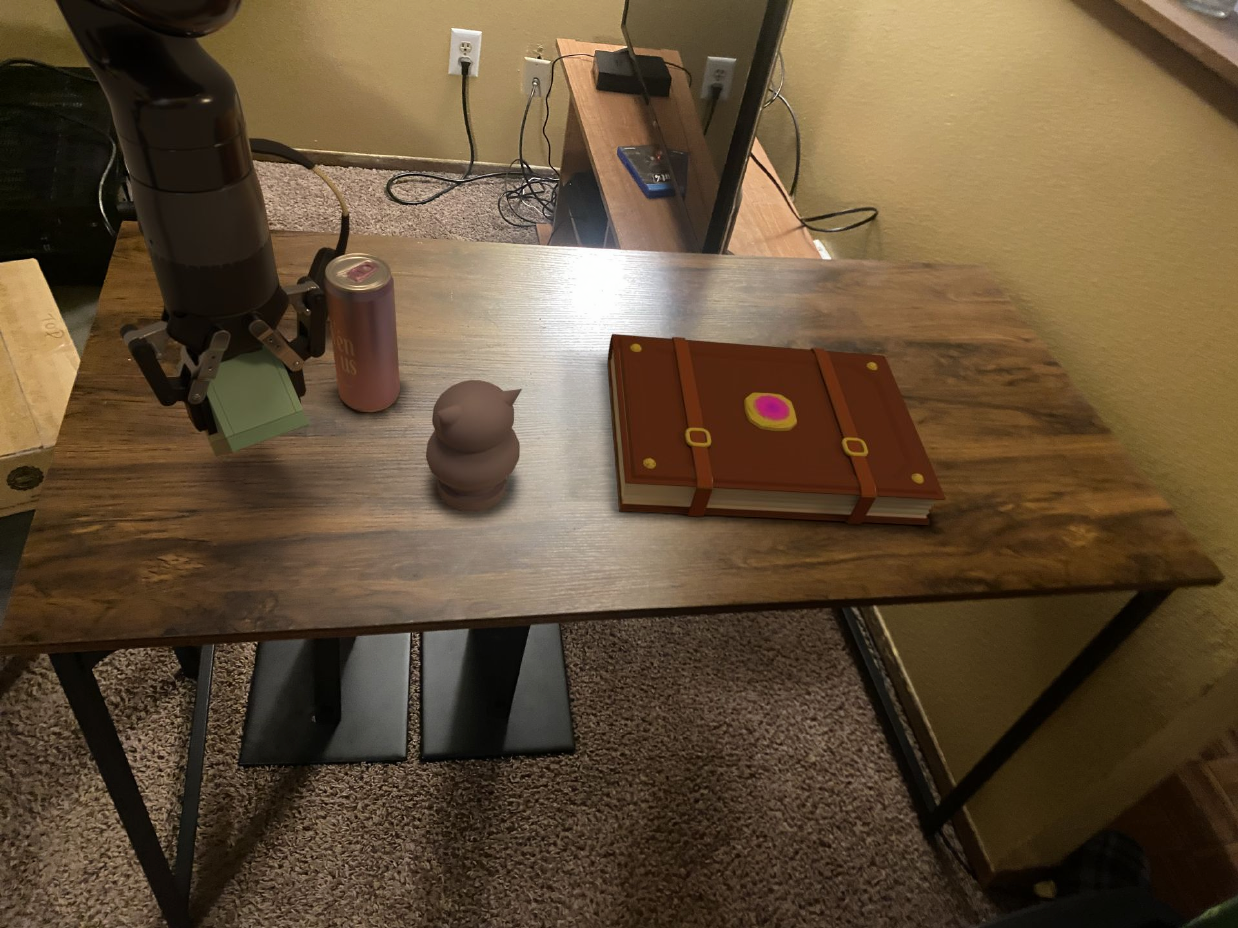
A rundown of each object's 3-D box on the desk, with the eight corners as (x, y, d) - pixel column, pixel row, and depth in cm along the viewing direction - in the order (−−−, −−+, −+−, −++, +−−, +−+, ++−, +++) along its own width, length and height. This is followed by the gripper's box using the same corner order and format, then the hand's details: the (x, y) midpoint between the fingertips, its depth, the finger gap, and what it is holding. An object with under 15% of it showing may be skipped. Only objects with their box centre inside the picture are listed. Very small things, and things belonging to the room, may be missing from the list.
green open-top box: (175, 366, 69) (187, 351, 61) (248, 344, 72) (268, 327, 64) (215, 456, 70) (232, 452, 62) (285, 431, 73) (309, 424, 66)
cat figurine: (493, 443, 83) (499, 350, 74) (532, 498, 79) (542, 406, 70) (412, 471, 79) (408, 376, 70) (448, 530, 75) (449, 436, 66)
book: (928, 528, 84) (950, 496, 80) (619, 513, 79) (627, 479, 75) (868, 377, 99) (884, 345, 96) (606, 358, 94) (613, 322, 91)
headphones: (233, 283, 93) (193, 108, 79) (367, 299, 95) (353, 131, 81) (207, 331, 88) (159, 151, 73) (351, 347, 89) (332, 175, 75)
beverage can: (412, 393, 86) (407, 270, 75) (370, 424, 82) (358, 299, 71) (369, 367, 88) (358, 243, 77) (326, 396, 84) (307, 270, 73)
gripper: (106, 289, 49) (175, 478, 61) (337, 231, 56) (357, 410, 69) (67, 225, 53) (139, 416, 65) (289, 178, 60) (316, 358, 72)
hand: (251, 412), depth 67 cm, fingers closed on green open-top box, 6 cm apart
